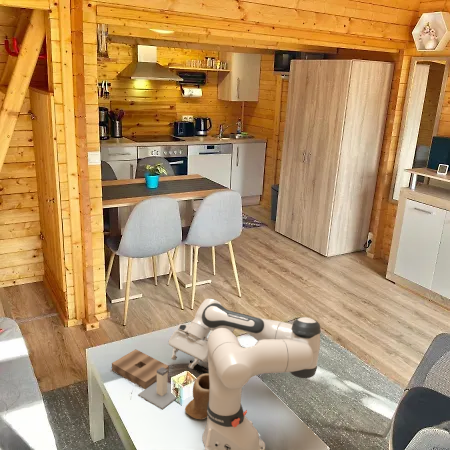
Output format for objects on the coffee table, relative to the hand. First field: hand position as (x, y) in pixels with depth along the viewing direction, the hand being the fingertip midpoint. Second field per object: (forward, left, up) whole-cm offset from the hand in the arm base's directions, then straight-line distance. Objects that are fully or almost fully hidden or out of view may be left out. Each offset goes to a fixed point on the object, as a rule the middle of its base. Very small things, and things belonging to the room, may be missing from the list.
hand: (181, 363), depth 191 cm
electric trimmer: (-4, -10, -8) cm, 13 cm away
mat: (0, +12, -8) cm, 14 cm away
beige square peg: (0, +12, -7) cm, 14 cm away
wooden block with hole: (+17, +7, -8) cm, 20 cm away
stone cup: (-19, +8, -8) cm, 22 cm away
